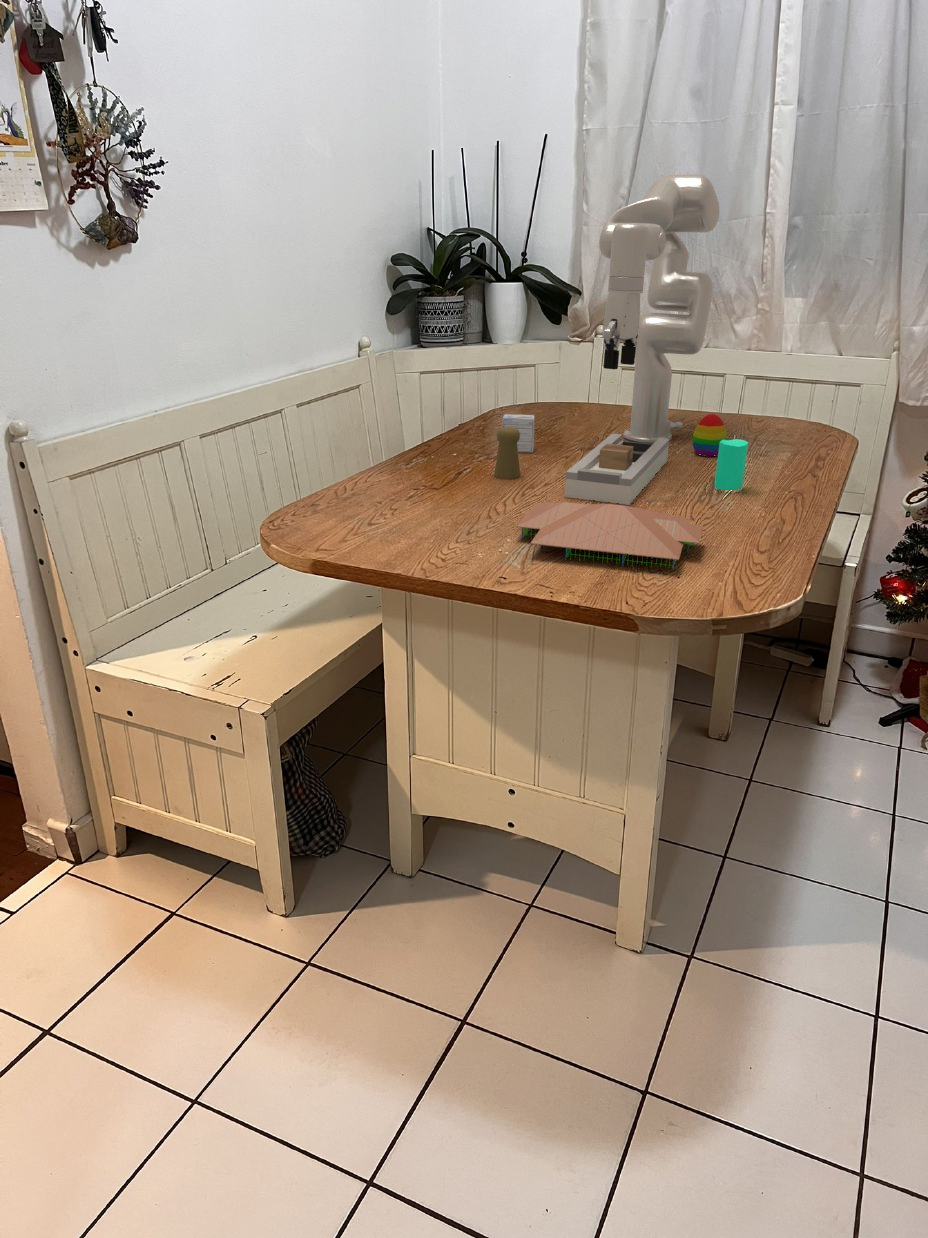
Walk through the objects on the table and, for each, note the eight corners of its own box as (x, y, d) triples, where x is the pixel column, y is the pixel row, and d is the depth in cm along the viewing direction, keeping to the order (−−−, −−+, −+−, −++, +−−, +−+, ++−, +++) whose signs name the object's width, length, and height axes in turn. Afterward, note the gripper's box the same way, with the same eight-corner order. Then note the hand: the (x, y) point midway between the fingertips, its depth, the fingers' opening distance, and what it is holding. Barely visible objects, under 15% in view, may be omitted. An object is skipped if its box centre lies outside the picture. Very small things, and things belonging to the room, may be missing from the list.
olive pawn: (523, 473, 213) (525, 426, 209) (516, 480, 208) (517, 431, 204) (498, 470, 215) (499, 423, 211) (490, 477, 210) (491, 429, 205)
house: (693, 579, 156) (699, 533, 153) (505, 557, 165) (506, 514, 162) (703, 536, 176) (708, 494, 173) (534, 519, 185) (535, 479, 182)
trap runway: (610, 455, 229) (612, 431, 226) (667, 461, 224) (669, 436, 221) (564, 496, 197) (566, 469, 194) (629, 505, 192) (631, 476, 189)
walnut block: (605, 460, 209) (607, 443, 207) (632, 463, 206) (633, 446, 205) (598, 467, 203) (599, 449, 202) (625, 470, 201) (626, 452, 200)
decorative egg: (713, 449, 235) (717, 409, 231) (731, 456, 228) (736, 416, 224) (684, 451, 233) (689, 411, 229) (702, 459, 226) (707, 418, 222)
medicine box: (533, 448, 234) (535, 414, 231) (533, 453, 230) (534, 418, 227) (502, 447, 235) (503, 413, 231) (501, 452, 231) (502, 417, 227)
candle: (744, 487, 204) (751, 433, 199) (739, 494, 199) (746, 439, 194) (716, 483, 207) (723, 430, 202) (711, 490, 202) (718, 436, 197)
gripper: (624, 283, 209) (618, 361, 216) (593, 285, 195) (587, 369, 202) (656, 284, 205) (648, 363, 212) (627, 287, 192) (619, 372, 198)
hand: (619, 366), depth 207 cm, fingers open, 9 cm apart
